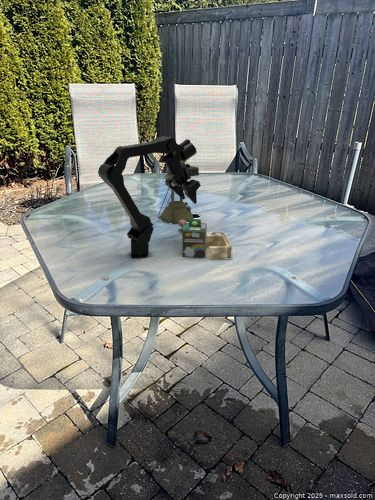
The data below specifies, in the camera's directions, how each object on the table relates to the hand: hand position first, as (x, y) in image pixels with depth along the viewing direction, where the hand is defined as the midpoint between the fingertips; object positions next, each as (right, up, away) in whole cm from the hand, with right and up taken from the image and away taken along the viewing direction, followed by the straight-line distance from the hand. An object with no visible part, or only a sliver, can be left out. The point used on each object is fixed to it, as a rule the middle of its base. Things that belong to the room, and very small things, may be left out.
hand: (189, 201), depth 155 cm
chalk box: (+2, -21, -3) cm, 22 cm away
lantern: (-7, -4, +37) cm, 38 cm away
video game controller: (-1, -12, +19) cm, 23 cm away
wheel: (+12, -15, +11) cm, 23 cm away
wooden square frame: (+11, -21, -2) cm, 24 cm away
